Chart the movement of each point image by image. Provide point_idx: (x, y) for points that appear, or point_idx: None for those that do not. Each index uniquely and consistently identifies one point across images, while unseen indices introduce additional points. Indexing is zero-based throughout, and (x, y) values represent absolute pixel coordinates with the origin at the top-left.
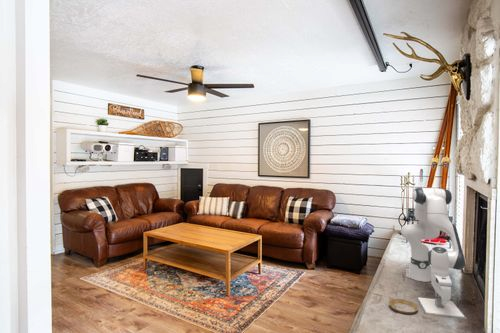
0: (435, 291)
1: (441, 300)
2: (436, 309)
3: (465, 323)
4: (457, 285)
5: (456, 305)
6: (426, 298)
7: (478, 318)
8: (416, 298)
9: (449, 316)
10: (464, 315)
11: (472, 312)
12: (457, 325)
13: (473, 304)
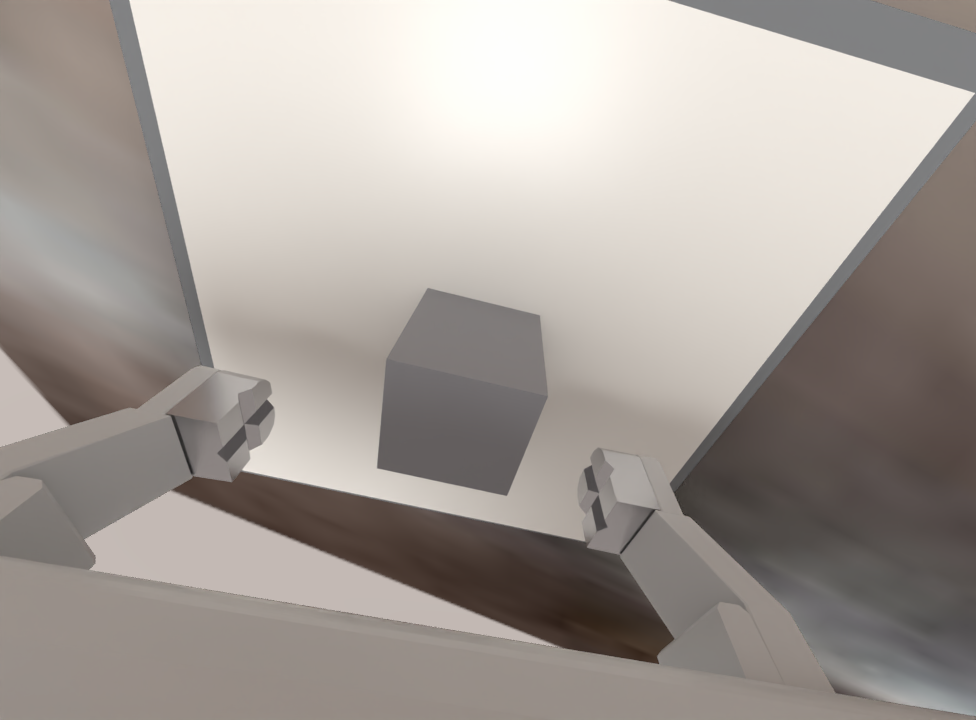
0: (703, 564)
1: (403, 445)
2: (345, 233)
3: (138, 406)
4: (900, 695)
5: (526, 530)
6: (805, 290)
7: (305, 540)
8: (961, 42)
9: (202, 323)
10: (304, 483)
11: (410, 558)
12: (18, 297)
13: (553, 622)
